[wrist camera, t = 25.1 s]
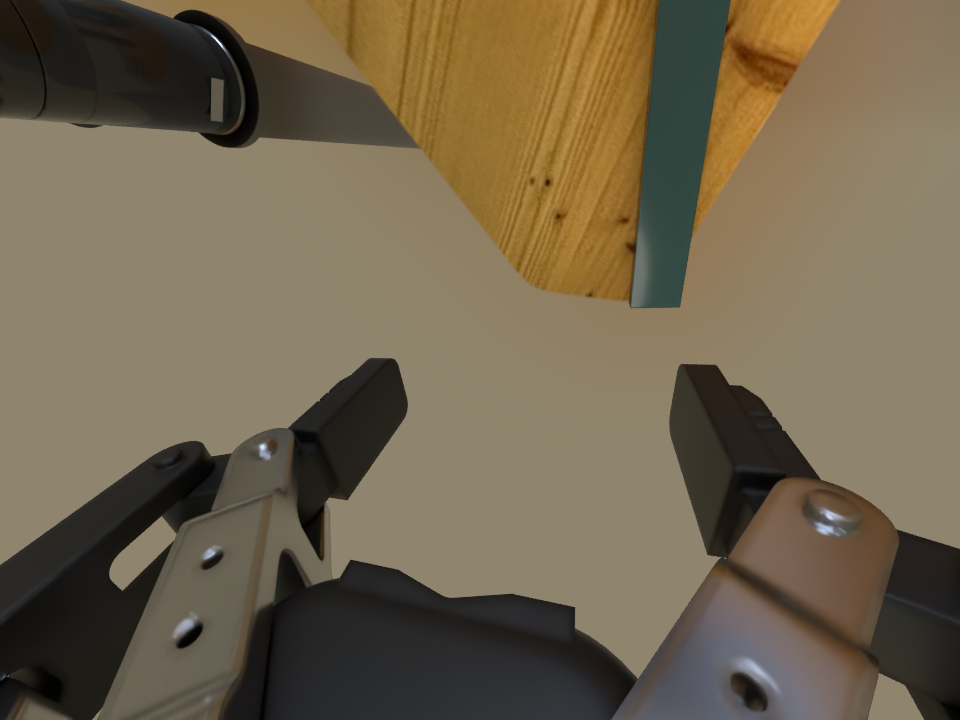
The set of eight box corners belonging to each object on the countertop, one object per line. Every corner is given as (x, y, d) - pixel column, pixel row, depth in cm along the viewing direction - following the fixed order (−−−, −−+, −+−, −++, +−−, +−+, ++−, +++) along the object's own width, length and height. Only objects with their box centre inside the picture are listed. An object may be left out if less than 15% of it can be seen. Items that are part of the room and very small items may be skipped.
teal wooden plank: (658, -21, 24) (662, -31, 23) (730, -39, 23) (739, -52, 22) (628, 302, 36) (630, 308, 34) (676, 301, 35) (679, 307, 33)
